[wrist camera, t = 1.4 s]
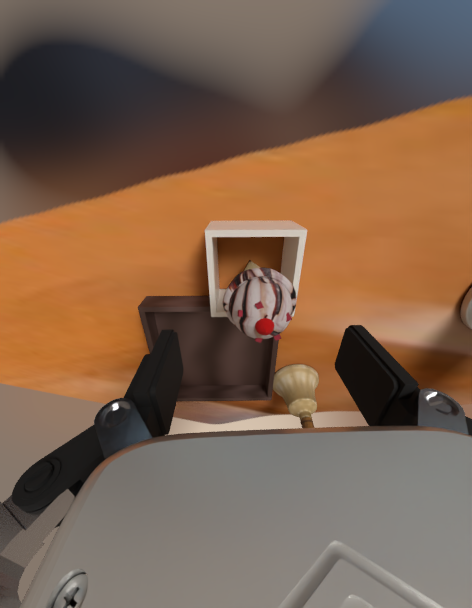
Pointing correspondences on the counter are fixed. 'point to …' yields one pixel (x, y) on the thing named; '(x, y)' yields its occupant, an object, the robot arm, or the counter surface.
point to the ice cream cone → (260, 302)
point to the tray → (211, 350)
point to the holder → (286, 229)
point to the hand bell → (298, 391)
